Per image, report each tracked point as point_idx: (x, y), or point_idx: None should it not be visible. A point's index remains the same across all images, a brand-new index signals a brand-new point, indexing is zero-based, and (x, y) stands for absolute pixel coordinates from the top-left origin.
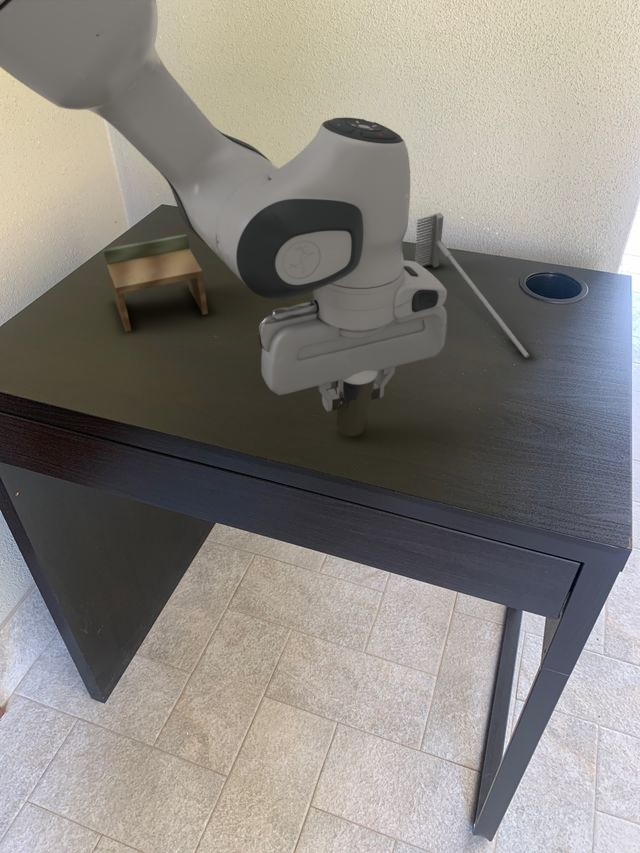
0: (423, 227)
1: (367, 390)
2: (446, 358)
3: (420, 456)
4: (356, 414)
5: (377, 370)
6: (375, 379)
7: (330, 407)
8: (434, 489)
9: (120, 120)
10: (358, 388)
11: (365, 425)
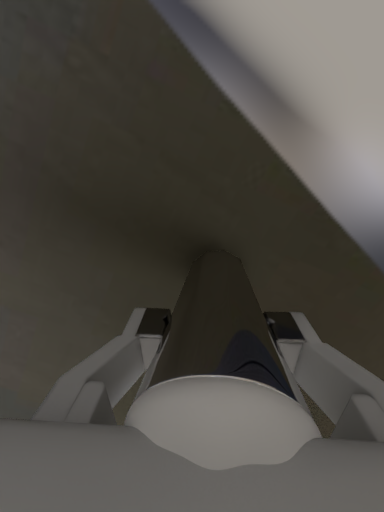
0: None
1: (202, 335)
2: (3, 353)
3: (110, 152)
4: (229, 278)
5: (127, 431)
6: (151, 376)
7: (300, 319)
8: (113, 10)
9: None
10: (250, 358)
11: (192, 264)
